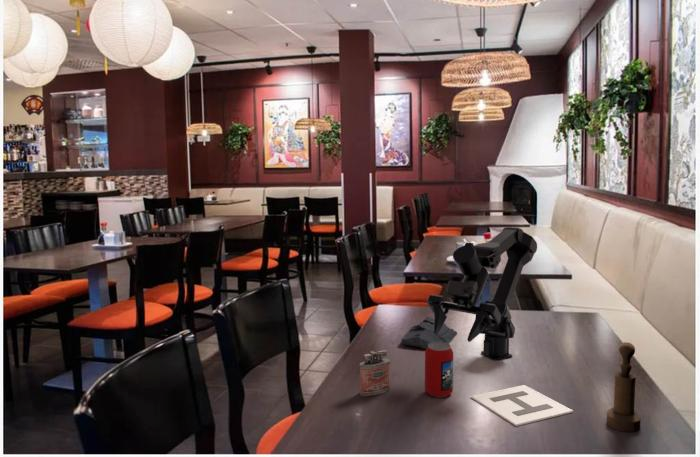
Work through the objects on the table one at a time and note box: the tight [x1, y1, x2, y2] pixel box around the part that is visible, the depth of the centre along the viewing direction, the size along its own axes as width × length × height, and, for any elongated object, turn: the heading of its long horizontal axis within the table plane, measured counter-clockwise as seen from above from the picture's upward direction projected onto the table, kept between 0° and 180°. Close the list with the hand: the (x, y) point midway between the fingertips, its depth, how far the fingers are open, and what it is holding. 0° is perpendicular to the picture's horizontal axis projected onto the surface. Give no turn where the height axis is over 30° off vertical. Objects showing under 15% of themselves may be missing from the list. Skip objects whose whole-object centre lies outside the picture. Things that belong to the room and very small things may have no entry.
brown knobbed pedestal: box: [606, 341, 642, 433], centre depth 121 cm, size 7×6×18 cm
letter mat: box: [470, 384, 574, 427], centre depth 132 cm, size 16×16×1 cm
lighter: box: [359, 349, 391, 397], centre depth 139 cm, size 8×3×10 cm, turn 118°
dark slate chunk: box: [400, 316, 458, 350], centre depth 180 cm, size 15×22×5 cm
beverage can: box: [424, 342, 454, 398], centre depth 138 cm, size 7×7×12 cm
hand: (451, 337), depth 142 cm, fingers open, 9 cm apart
